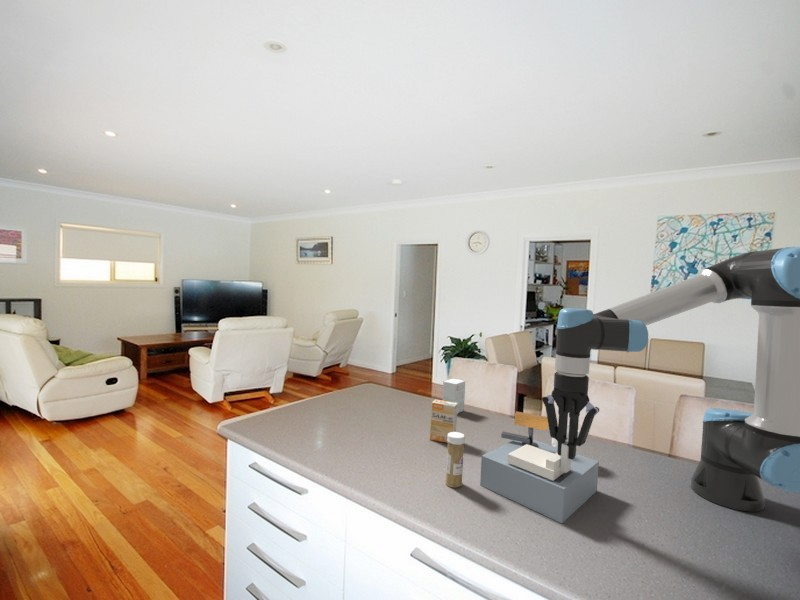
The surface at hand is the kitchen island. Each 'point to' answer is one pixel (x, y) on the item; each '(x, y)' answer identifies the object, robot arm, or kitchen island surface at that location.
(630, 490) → the kitchen island surface
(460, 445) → the sprinkles bottle
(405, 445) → the kitchen island surface
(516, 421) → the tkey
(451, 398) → the small box
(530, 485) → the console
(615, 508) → the kitchen island surface
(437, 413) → the supplement box
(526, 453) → the cover
